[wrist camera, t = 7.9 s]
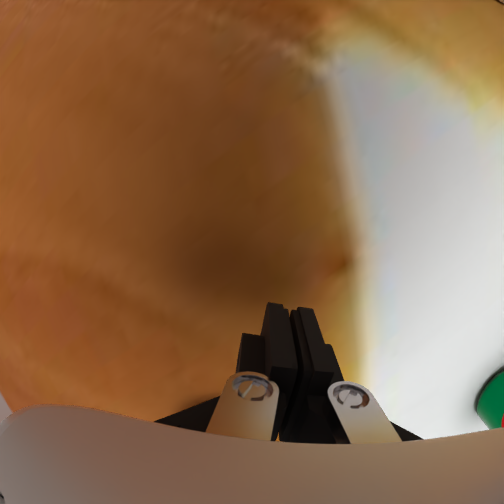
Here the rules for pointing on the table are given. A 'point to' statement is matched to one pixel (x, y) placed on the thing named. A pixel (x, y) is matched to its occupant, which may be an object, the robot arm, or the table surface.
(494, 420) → the soda can
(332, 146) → the table surface
